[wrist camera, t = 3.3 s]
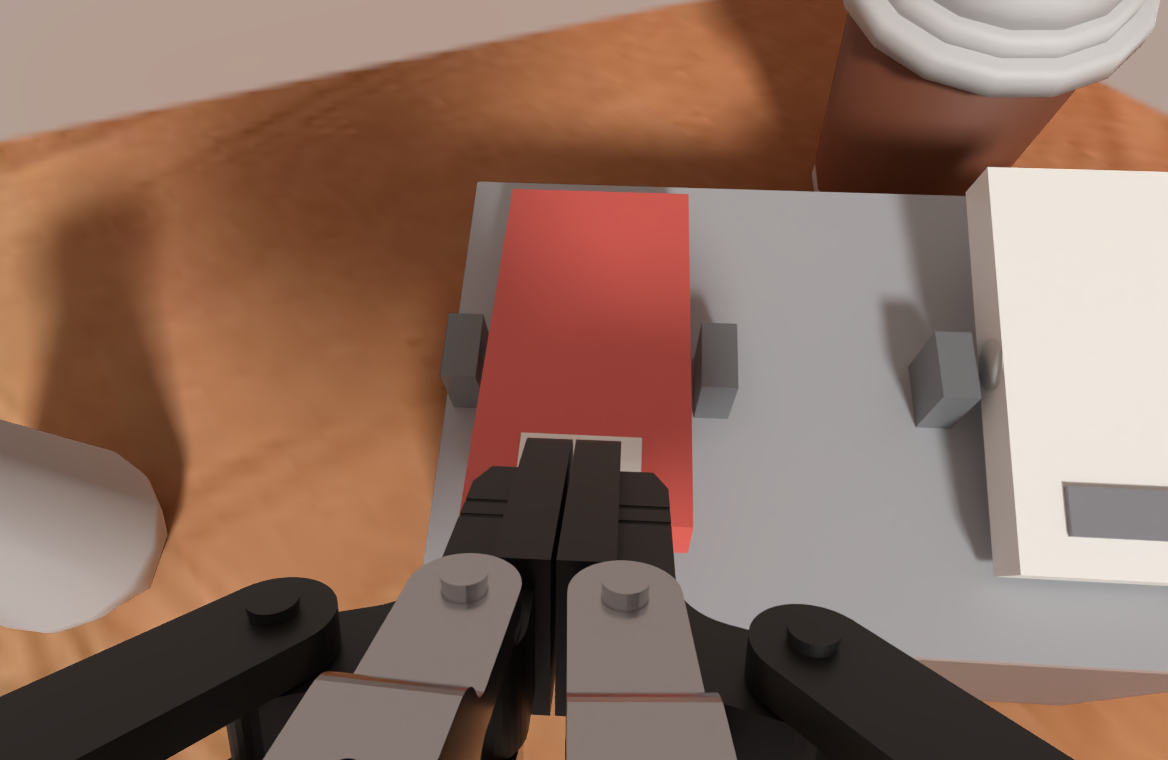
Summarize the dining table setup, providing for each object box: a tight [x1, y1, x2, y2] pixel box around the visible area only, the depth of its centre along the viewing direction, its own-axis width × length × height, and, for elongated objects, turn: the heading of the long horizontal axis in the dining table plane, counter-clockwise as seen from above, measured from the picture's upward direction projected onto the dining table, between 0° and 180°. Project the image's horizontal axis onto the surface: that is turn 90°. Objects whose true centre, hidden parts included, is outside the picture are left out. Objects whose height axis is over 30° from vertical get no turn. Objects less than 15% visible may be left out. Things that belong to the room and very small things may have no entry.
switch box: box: [423, 182, 1168, 705], centre depth 23 cm, size 18×12×11 cm, turn 87°
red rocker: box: [459, 189, 693, 553], centre depth 18 cm, size 4×9×1 cm, turn 177°
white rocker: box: [966, 167, 1168, 586], centre depth 18 cm, size 4×9×1 cm, turn 177°
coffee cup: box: [812, 0, 1160, 196], centre depth 28 cm, size 9×9×12 cm
